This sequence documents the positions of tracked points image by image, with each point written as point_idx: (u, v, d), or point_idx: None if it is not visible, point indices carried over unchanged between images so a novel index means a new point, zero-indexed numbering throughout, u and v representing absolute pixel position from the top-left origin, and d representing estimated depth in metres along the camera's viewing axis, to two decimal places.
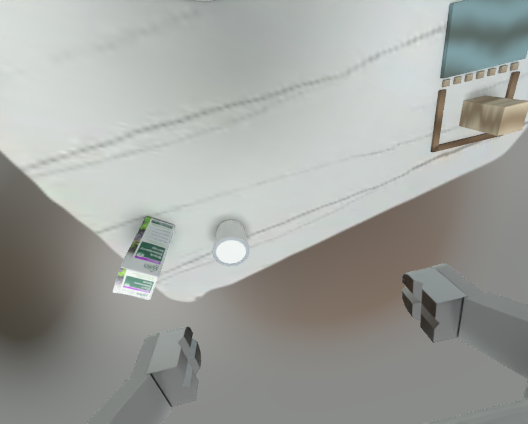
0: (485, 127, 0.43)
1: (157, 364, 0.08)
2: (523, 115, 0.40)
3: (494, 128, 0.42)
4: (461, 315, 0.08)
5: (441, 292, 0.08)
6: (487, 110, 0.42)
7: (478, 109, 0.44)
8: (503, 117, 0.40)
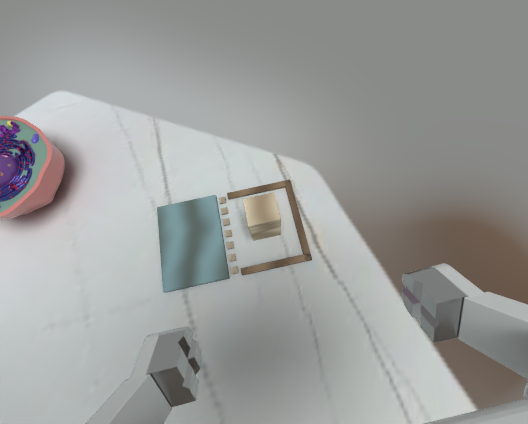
0: (274, 226, 0.36)
1: (157, 364, 0.08)
2: (257, 199, 0.35)
3: (273, 222, 0.35)
4: (461, 315, 0.08)
5: (441, 292, 0.08)
6: (256, 230, 0.37)
7: (257, 233, 0.38)
8: (259, 222, 0.34)
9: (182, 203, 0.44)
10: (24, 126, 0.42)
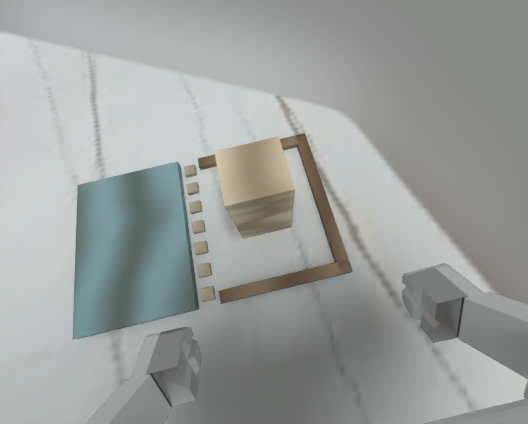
0: (281, 207, 0.18)
1: (157, 364, 0.08)
2: (245, 150, 0.17)
3: (278, 198, 0.17)
4: (461, 315, 0.08)
5: (441, 292, 0.08)
6: (244, 217, 0.18)
7: (249, 224, 0.20)
8: (248, 198, 0.16)
9: (120, 177, 0.25)
10: None
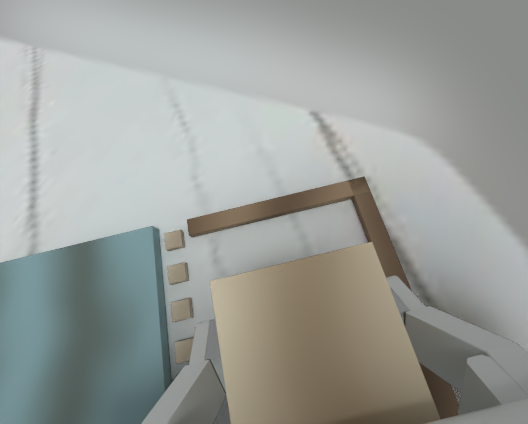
0: None
1: (214, 350, 0.08)
2: (288, 280, 0.07)
3: None
4: None
5: None
6: None
7: None
8: None
9: (58, 252, 0.15)
10: None
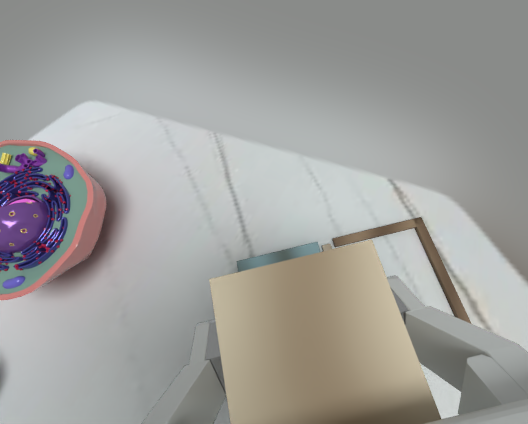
0: None
1: (214, 350, 0.08)
2: (288, 278, 0.07)
3: None
4: None
5: None
6: None
7: None
8: None
9: (271, 255, 0.31)
10: (52, 154, 0.30)
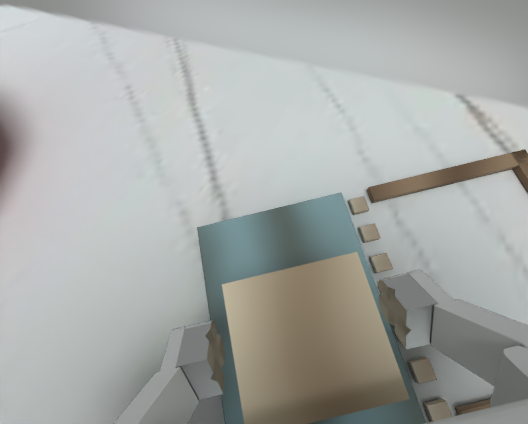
0: None
1: (186, 357, 0.08)
2: (287, 284, 0.08)
3: None
4: (433, 322, 0.08)
5: (412, 299, 0.08)
6: None
7: None
8: (301, 418, 0.07)
9: (260, 216, 0.17)
10: None
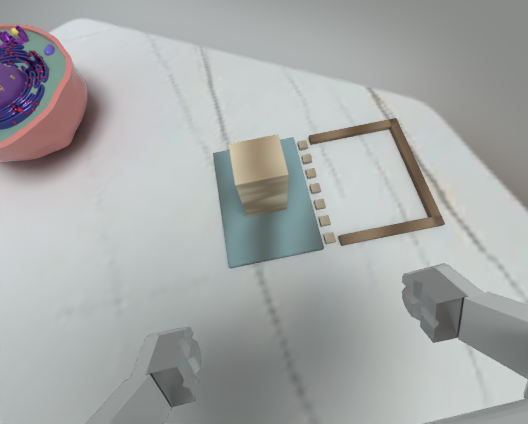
0: (278, 189, 0.23)
1: (157, 364, 0.08)
2: (252, 144, 0.22)
3: (276, 181, 0.22)
4: (461, 315, 0.08)
5: (441, 292, 0.08)
6: (249, 196, 0.24)
7: (252, 203, 0.25)
8: (253, 179, 0.21)
9: None
10: (34, 36, 0.30)
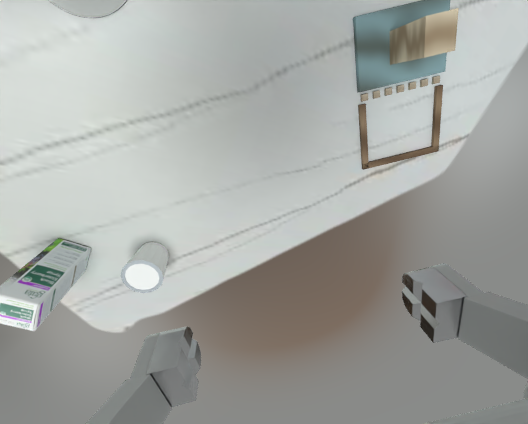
0: (412, 53, 0.34)
1: (157, 364, 0.08)
2: (453, 28, 0.32)
3: (420, 49, 0.33)
4: (461, 315, 0.08)
5: (441, 292, 0.08)
6: (411, 29, 0.34)
7: (403, 33, 0.35)
8: (426, 30, 0.31)
9: None
10: None
